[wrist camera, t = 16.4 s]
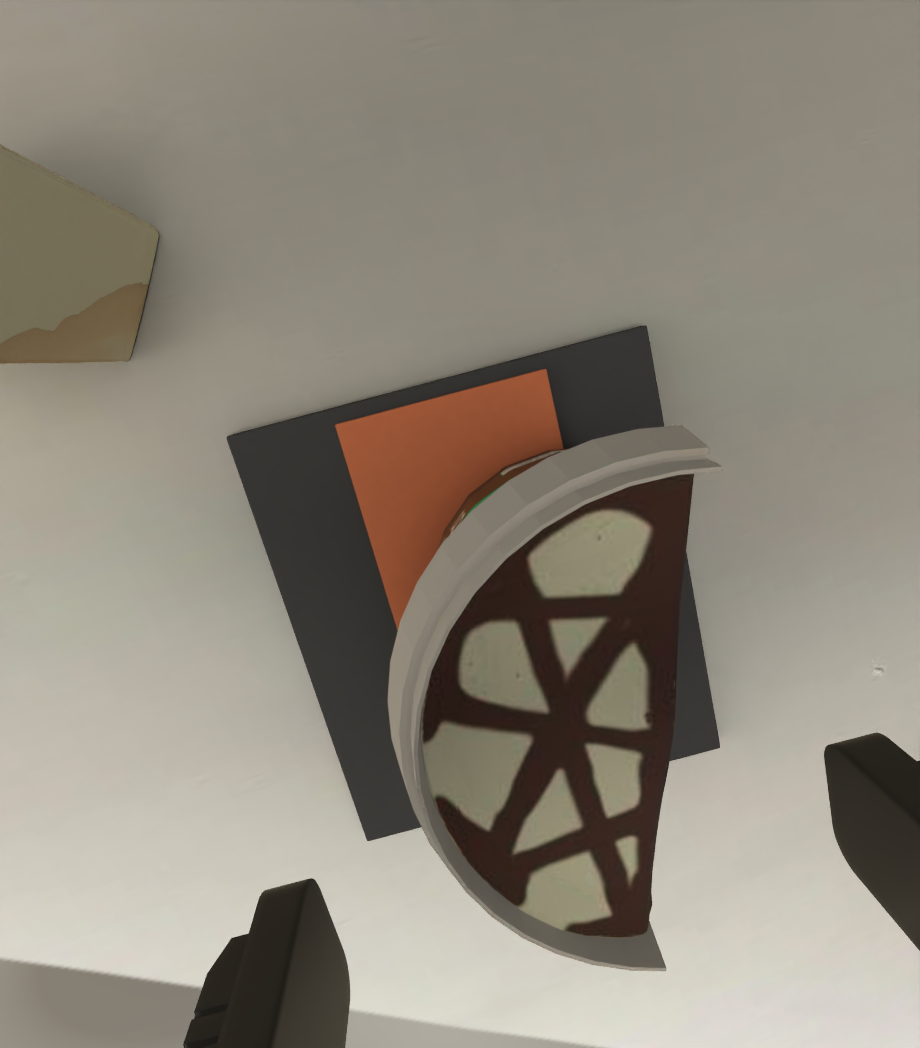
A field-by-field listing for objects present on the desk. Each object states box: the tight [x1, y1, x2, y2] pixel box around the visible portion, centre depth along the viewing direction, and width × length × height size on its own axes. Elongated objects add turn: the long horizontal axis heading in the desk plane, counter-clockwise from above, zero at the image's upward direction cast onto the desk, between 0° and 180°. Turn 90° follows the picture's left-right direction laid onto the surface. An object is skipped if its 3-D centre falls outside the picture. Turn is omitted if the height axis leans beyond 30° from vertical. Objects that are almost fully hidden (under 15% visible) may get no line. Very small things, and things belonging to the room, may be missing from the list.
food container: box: [388, 425, 723, 971], centre depth 18 cm, size 12×6×10 cm, turn 179°
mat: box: [227, 326, 720, 841], centre depth 23 cm, size 16×14×1 cm
